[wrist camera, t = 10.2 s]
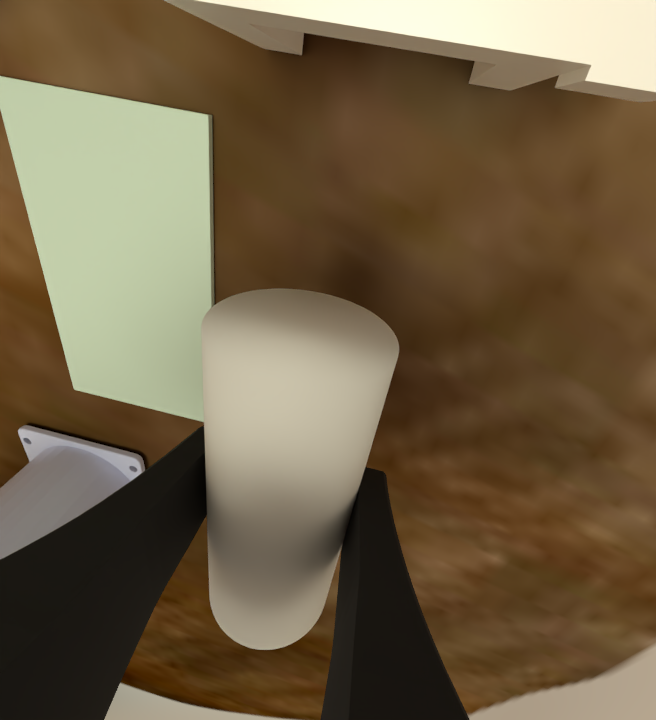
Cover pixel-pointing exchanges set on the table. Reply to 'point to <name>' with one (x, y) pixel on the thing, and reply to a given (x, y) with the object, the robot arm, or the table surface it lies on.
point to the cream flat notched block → (472, 36)
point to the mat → (120, 236)
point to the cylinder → (285, 450)
